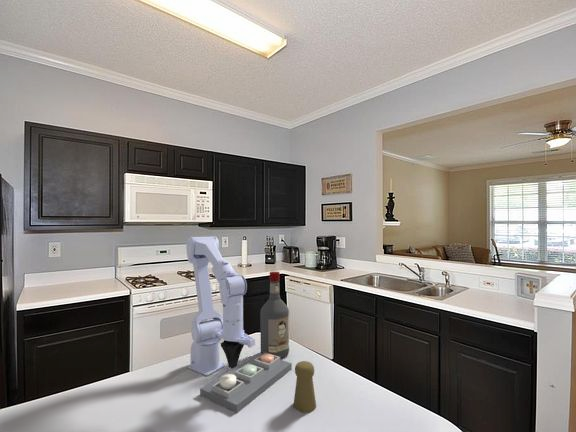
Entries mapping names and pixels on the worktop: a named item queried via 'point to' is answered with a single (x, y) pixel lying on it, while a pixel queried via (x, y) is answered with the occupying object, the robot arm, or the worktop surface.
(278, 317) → the liquor
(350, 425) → the worktop surface
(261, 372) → the button panel
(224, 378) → the cream button
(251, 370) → the sage button
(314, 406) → the olive pawn
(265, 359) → the terracotta button
